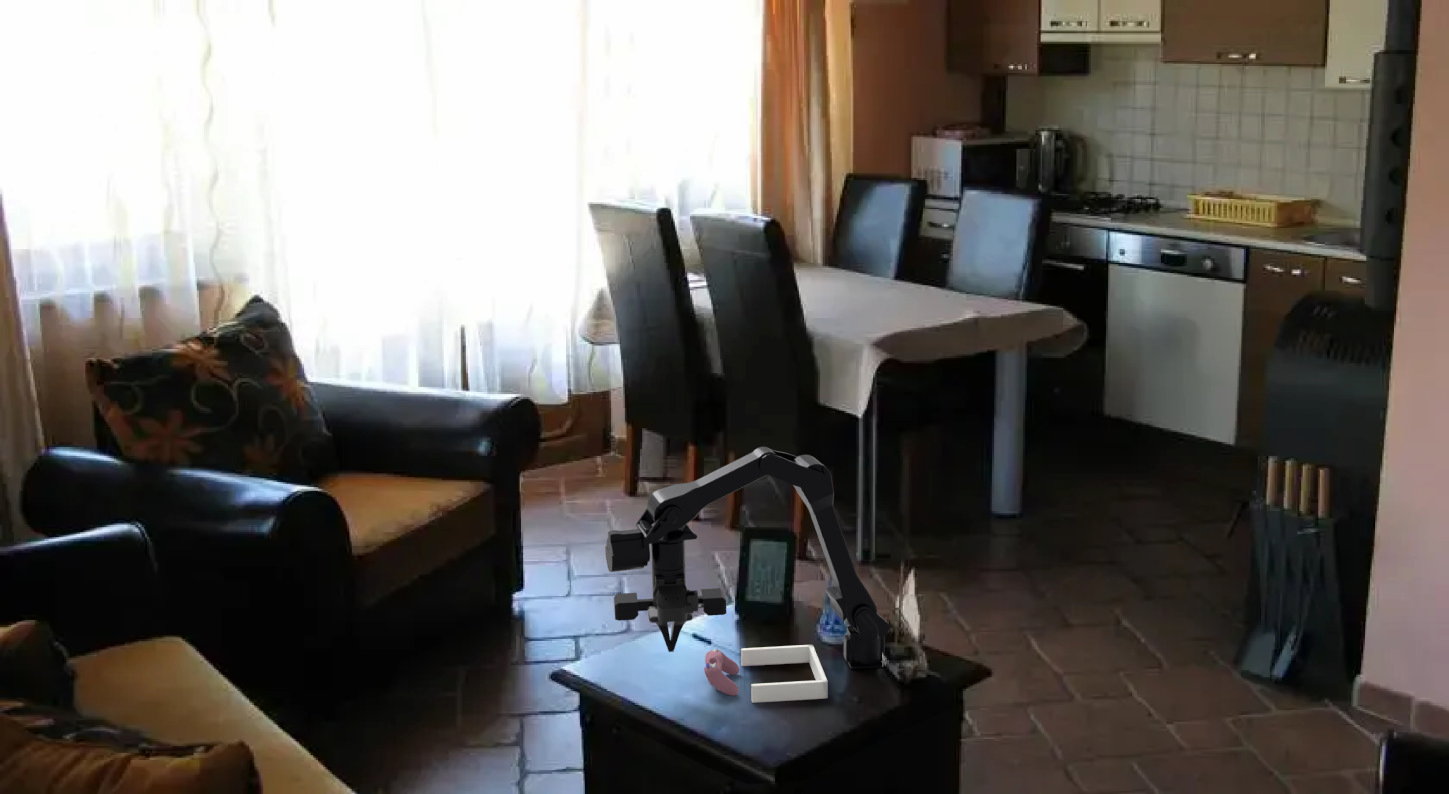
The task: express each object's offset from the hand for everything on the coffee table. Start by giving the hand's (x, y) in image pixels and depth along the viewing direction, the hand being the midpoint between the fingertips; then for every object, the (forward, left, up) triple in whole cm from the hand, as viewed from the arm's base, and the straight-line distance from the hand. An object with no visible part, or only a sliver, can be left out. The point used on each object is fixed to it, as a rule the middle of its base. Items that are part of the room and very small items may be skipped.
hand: (671, 651), depth 256 cm
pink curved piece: (-9, 0, -7) cm, 11 cm away
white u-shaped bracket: (-19, 0, -7) cm, 20 cm away
